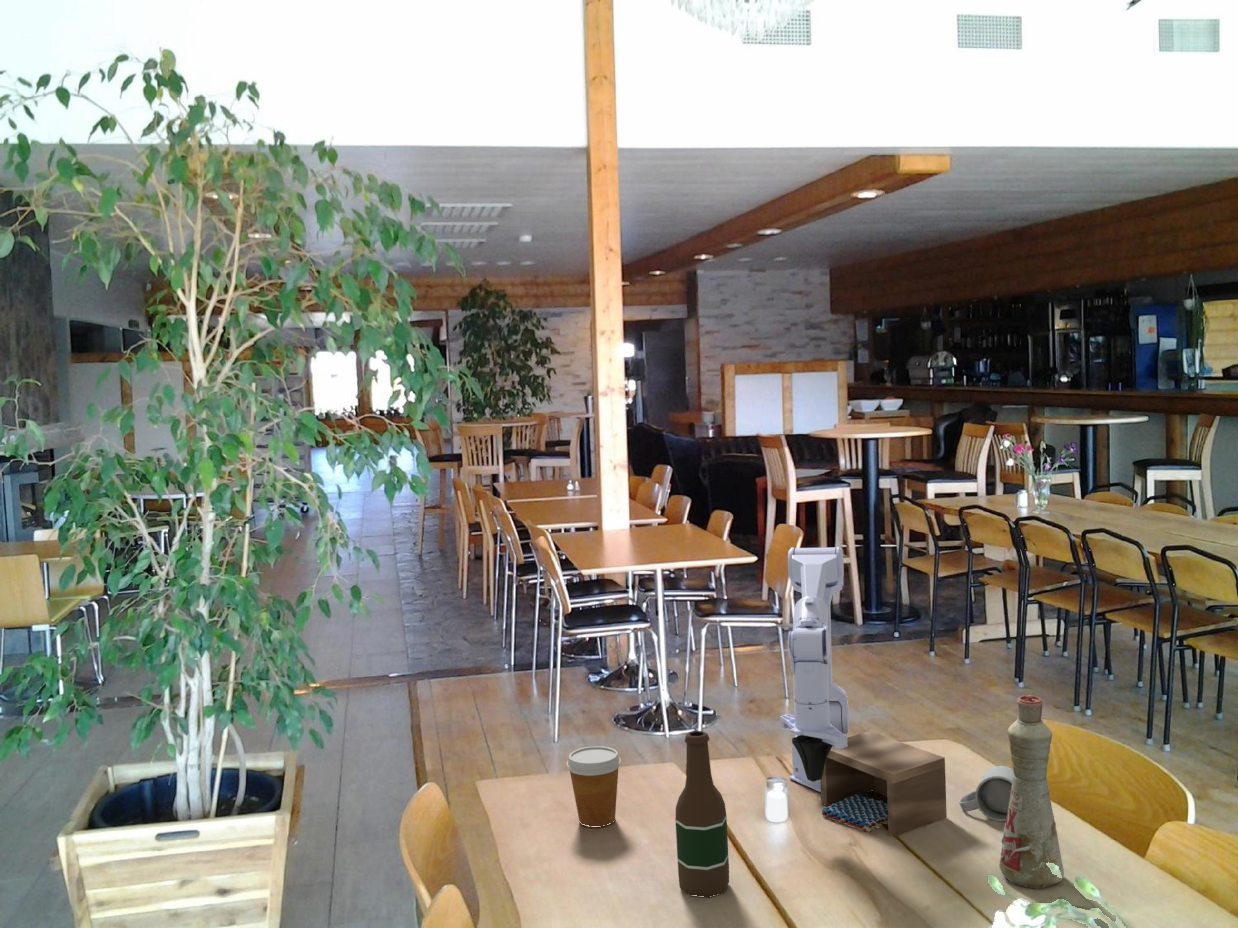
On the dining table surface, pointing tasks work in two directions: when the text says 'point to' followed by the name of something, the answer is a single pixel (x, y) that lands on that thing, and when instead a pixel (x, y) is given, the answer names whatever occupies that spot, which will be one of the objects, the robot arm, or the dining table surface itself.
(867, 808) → the woven mat
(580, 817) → the disposable coffee cup
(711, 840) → the beer bottle
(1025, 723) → the bottle
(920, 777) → the walnut open box
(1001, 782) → the ceramic mug
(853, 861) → the dining table surface
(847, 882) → the dining table surface
